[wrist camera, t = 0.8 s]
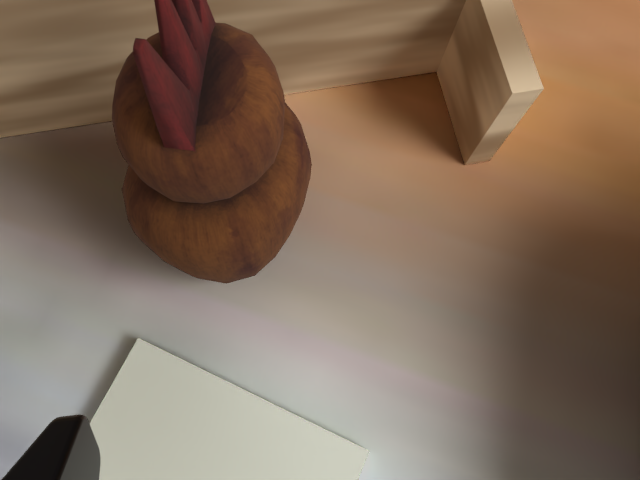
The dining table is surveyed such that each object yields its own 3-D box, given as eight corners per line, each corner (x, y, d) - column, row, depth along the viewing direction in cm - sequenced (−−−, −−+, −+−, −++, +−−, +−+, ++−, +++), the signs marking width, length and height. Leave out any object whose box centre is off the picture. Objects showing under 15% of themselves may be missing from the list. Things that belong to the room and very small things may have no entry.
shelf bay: (489, 160, 27) (583, 35, 18) (-58, 253, 24) (-249, 159, 16) (453, 47, 28) (523, -116, 20) (-60, 122, 26) (-232, -27, 17)
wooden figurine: (252, 324, 24) (197, 173, 10) (133, 259, 24) (-87, 28, 10) (327, 190, 26) (375, -99, 12) (215, 133, 26) (128, -208, 12)
